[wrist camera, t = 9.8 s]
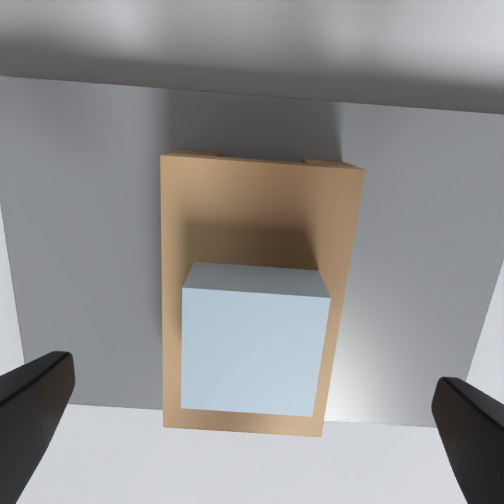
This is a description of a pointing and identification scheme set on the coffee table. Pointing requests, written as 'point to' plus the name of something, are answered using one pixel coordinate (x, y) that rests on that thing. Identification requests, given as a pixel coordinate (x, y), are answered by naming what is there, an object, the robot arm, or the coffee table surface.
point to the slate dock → (262, 148)
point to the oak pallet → (253, 254)
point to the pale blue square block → (252, 338)
